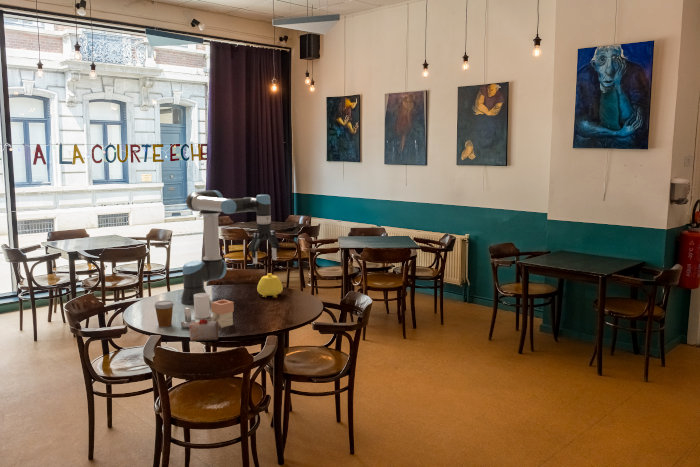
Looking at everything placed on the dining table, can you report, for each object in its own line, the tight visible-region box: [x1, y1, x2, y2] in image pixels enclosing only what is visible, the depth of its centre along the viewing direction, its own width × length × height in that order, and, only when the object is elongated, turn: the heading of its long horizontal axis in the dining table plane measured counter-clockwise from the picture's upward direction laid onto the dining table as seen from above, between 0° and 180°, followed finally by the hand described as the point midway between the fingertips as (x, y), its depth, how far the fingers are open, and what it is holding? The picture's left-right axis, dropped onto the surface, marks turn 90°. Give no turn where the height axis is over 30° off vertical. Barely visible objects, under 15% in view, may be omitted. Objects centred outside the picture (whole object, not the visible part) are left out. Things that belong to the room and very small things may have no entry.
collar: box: [210, 299, 235, 315], centre depth 310 cm, size 8×8×5 cm
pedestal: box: [212, 312, 234, 329], centre depth 311 cm, size 7×7×7 cm
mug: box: [193, 292, 211, 320], centre depth 328 cm, size 12×8×12 cm
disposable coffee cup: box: [153, 300, 175, 328], centre depth 310 cm, size 10×10×12 cm
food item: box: [188, 318, 219, 342], centre depth 288 cm, size 14×8×10 cm, turn 97°
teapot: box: [256, 272, 284, 298], centre depth 373 cm, size 20×16×14 cm
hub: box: [180, 307, 196, 330], centre depth 307 cm, size 7×7×10 cm
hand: (264, 261), depth 332 cm, fingers open, 13 cm apart
